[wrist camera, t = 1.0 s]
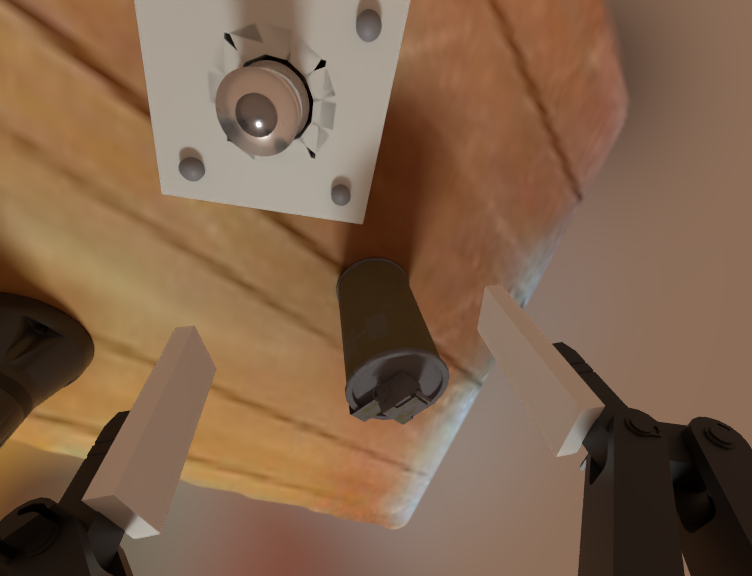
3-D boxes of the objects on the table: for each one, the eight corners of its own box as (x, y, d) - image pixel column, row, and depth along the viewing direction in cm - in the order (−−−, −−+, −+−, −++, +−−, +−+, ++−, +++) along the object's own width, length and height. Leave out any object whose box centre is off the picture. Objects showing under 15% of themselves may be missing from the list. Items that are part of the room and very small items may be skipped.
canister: (376, 242, 41) (415, 355, 25) (422, 287, 46) (479, 405, 30) (318, 292, 44) (319, 422, 28) (367, 329, 49) (393, 457, 33)
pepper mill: (245, 126, 31) (205, 156, 20) (245, 53, 28) (198, 41, 17) (306, 139, 33) (301, 174, 22) (313, 71, 30) (310, 71, 18)
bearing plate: (175, 183, 33) (158, 196, 30) (142, -92, 23) (111, -121, 19) (359, 213, 38) (363, 227, 35) (402, -2, 28) (414, -12, 24)
